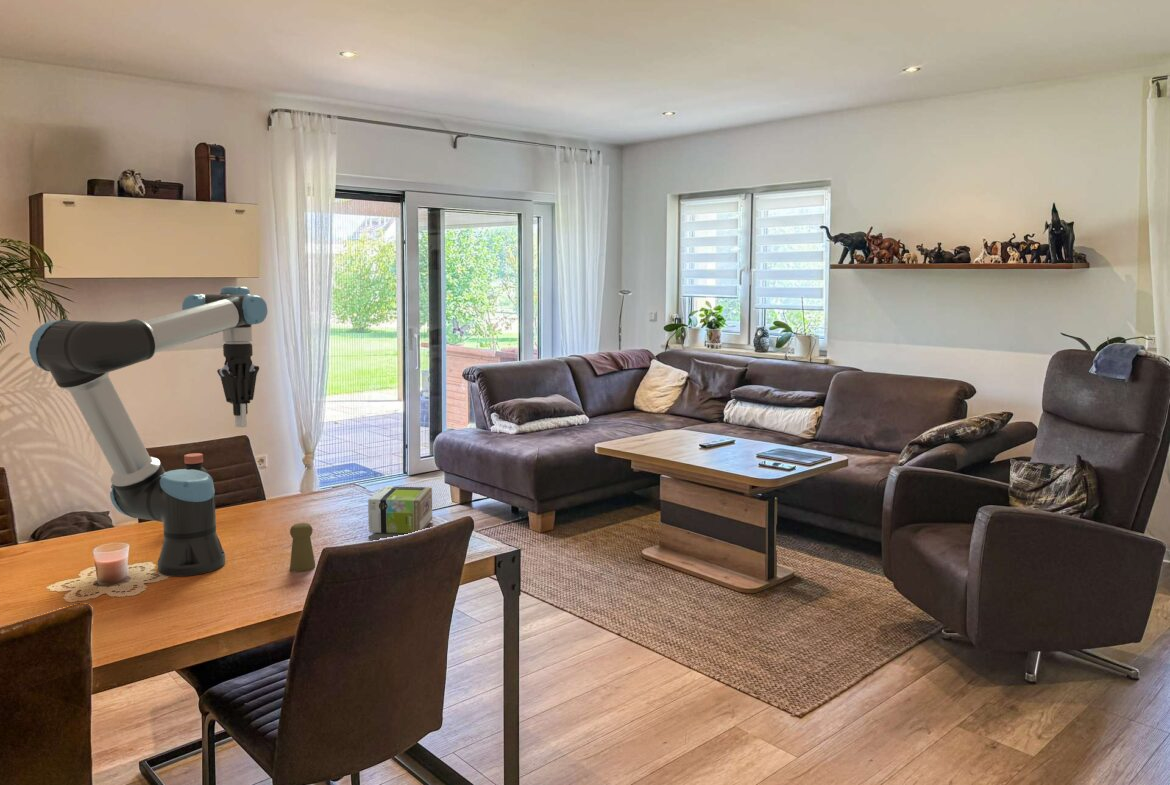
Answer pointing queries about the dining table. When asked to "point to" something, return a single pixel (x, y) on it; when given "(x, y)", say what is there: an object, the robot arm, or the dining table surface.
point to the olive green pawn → (301, 548)
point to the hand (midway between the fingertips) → (241, 426)
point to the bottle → (194, 462)
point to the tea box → (400, 509)
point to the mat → (385, 535)
